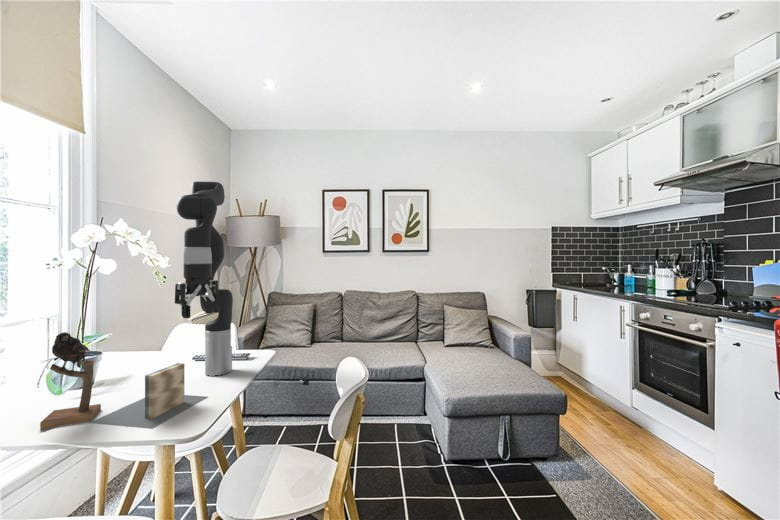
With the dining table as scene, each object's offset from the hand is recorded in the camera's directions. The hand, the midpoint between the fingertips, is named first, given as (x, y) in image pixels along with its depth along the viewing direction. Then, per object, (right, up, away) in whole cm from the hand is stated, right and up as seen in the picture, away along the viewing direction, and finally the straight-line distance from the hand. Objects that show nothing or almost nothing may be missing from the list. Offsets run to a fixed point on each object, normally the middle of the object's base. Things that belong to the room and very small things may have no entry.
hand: (198, 315), depth 107 cm
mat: (-12, -28, -2) cm, 31 cm away
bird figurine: (-32, -28, -5) cm, 43 cm away
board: (-9, -28, -2) cm, 29 cm away
